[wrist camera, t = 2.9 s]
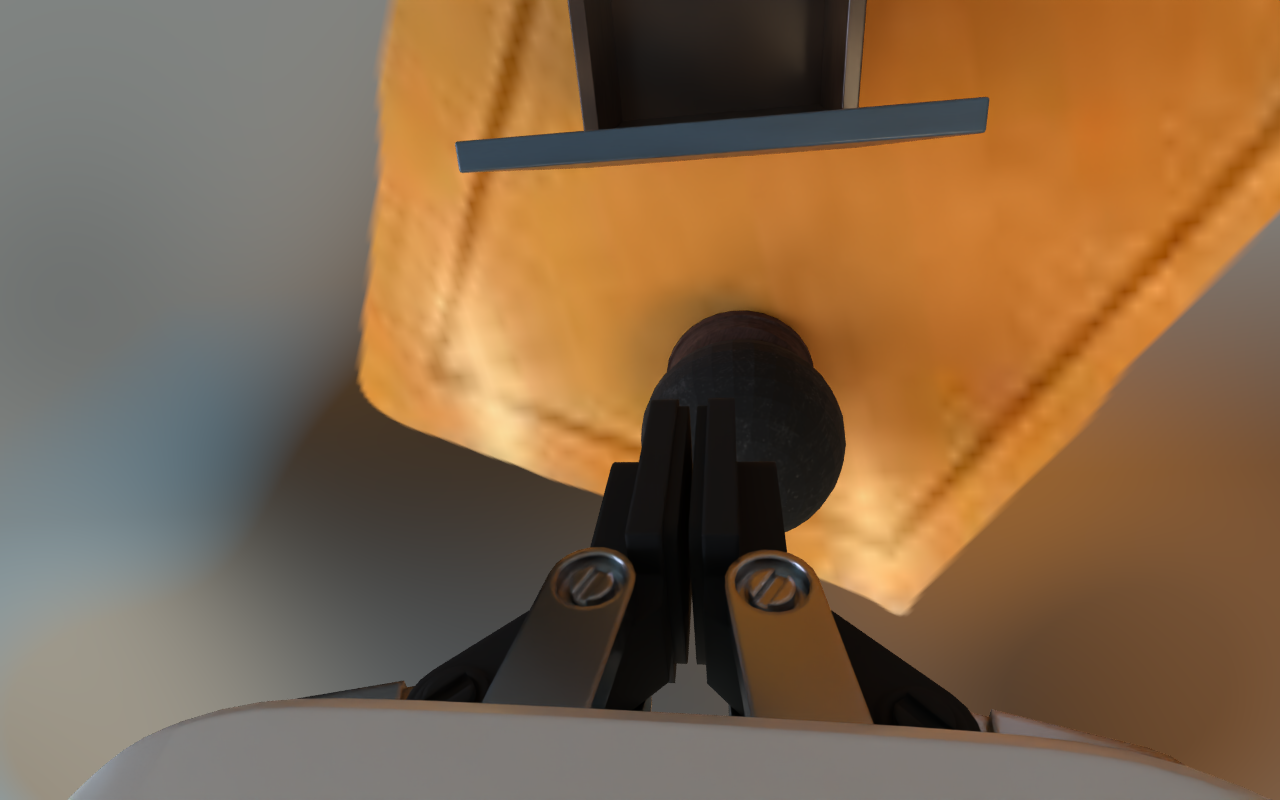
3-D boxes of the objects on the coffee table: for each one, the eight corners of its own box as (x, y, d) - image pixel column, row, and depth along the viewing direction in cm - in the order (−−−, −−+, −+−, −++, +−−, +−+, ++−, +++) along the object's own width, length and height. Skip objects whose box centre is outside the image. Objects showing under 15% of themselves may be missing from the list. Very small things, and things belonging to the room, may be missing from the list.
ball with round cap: (702, 267, 44) (692, 365, 31) (862, 346, 46) (914, 470, 33) (627, 406, 51) (593, 533, 38) (769, 471, 52) (782, 614, 40)
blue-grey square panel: (453, 141, 17) (458, 173, 17) (990, 96, 15) (986, 132, 15) (584, 151, 32) (586, 167, 32) (858, 129, 30) (857, 147, 30)
